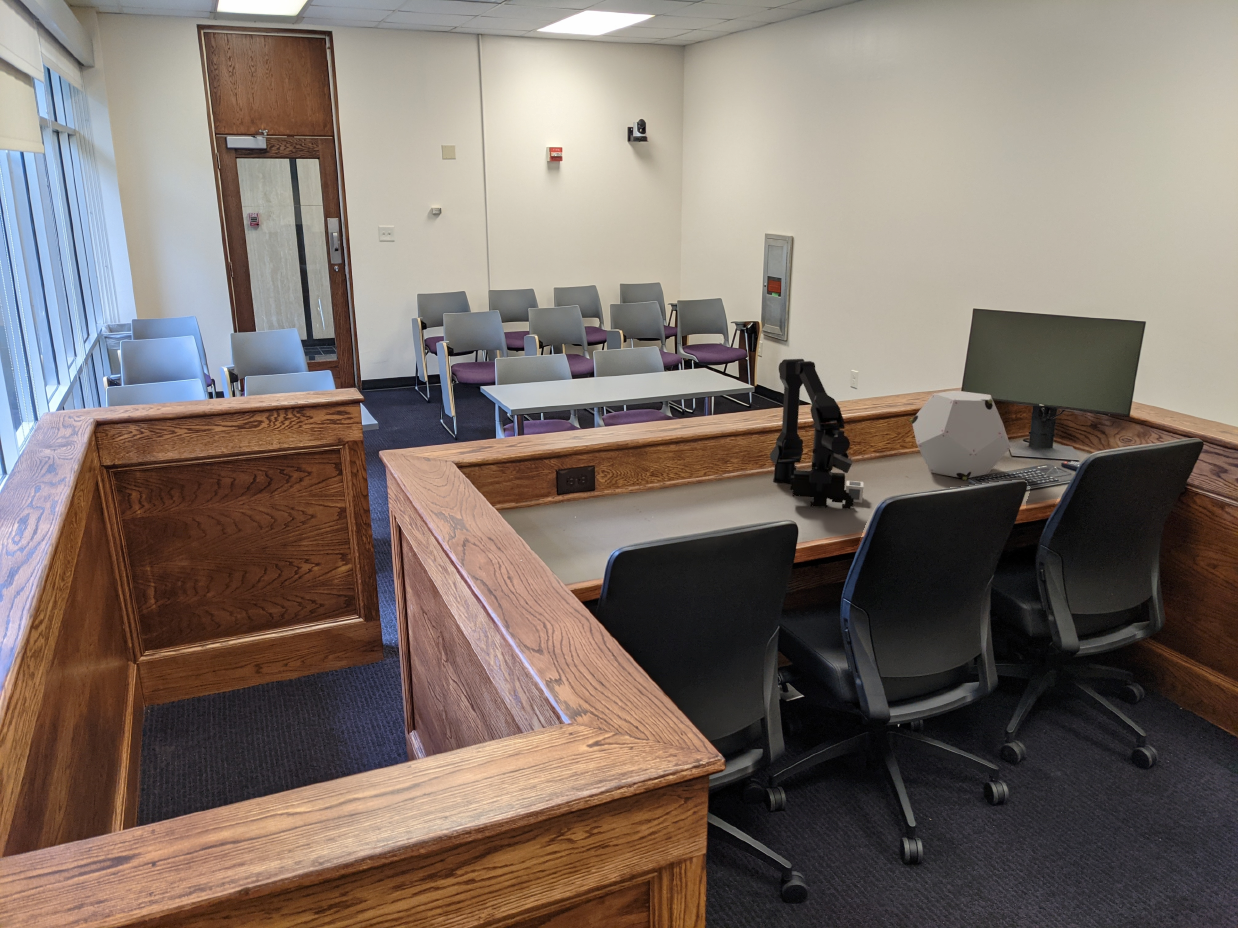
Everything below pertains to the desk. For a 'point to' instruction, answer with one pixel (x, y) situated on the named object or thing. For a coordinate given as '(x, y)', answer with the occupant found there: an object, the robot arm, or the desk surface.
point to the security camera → (831, 491)
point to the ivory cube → (855, 490)
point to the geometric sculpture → (960, 434)
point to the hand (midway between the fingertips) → (819, 495)
